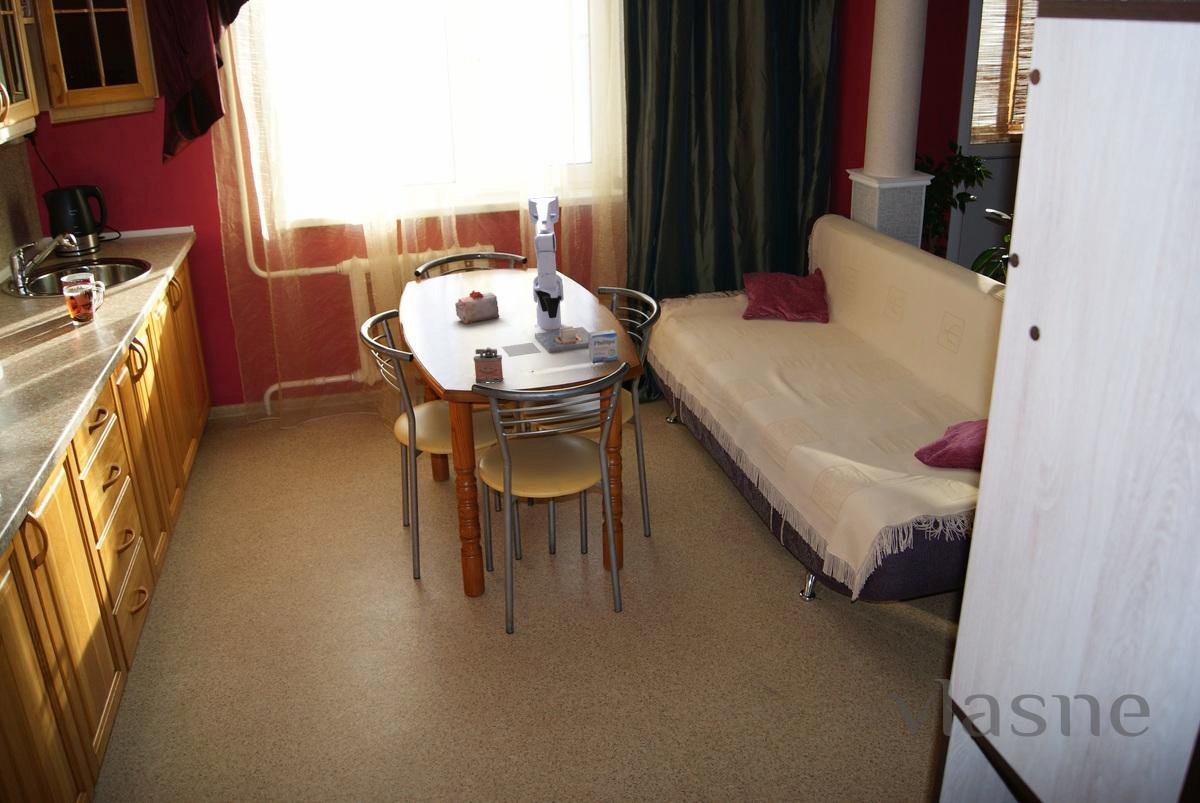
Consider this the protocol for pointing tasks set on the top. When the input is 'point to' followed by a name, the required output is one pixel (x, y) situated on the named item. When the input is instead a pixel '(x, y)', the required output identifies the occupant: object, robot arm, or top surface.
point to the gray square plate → (521, 349)
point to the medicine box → (603, 345)
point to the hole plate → (555, 345)
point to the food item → (477, 307)
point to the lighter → (488, 366)
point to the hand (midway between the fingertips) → (549, 314)
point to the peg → (567, 334)
